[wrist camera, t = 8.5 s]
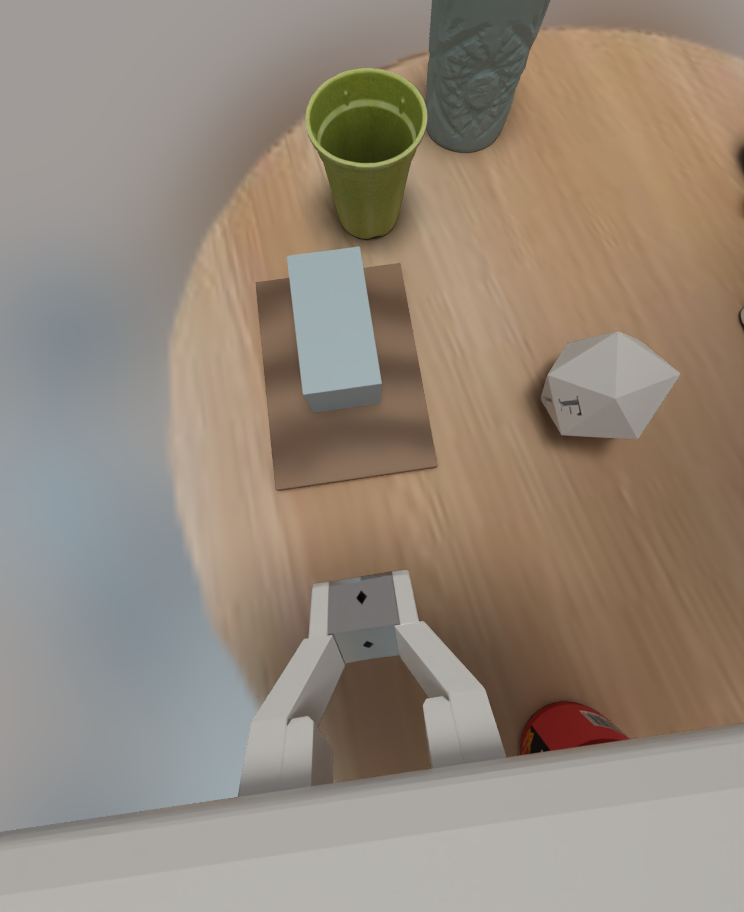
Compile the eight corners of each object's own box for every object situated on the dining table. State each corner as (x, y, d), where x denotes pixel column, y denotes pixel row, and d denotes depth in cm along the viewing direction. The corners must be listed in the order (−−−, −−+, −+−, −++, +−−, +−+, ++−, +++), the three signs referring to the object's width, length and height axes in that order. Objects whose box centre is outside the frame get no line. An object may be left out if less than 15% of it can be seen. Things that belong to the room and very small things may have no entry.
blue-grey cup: (468, 174, 35) (517, -2, 23) (396, 123, 36) (407, -69, 24) (526, 116, 36) (601, -79, 24) (455, 68, 37) (493, -139, 25)
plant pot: (387, 270, 33) (391, 184, 24) (305, 231, 34) (282, 134, 25) (429, 199, 34) (448, 95, 26) (350, 164, 35) (343, 51, 26)
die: (529, 353, 32) (532, 361, 24) (639, 317, 28) (689, 311, 20) (548, 433, 33) (557, 466, 25) (654, 409, 29) (707, 440, 21)
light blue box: (381, 383, 25) (359, 244, 27) (302, 394, 25) (286, 254, 27) (380, 403, 29) (361, 282, 31) (313, 412, 29) (299, 291, 31)
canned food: (501, 717, 26) (593, 865, 15) (594, 682, 26) (749, 800, 15) (541, 827, 25) (672, 1074, 14) (637, 787, 25) (840, 998, 14)
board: (435, 467, 29) (437, 465, 28) (278, 490, 29) (275, 489, 28) (399, 270, 33) (400, 263, 32) (259, 289, 32) (255, 282, 31)
